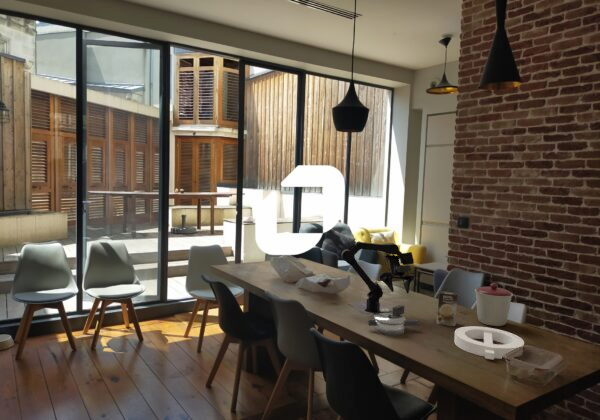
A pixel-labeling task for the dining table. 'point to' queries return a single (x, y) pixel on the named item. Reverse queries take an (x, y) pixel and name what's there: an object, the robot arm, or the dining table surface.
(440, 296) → the coffee box
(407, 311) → the dining table surface
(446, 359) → the dining table surface
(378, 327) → the pot
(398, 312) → the lid
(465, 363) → the dining table surface
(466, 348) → the ring with crossbar
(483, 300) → the canister
